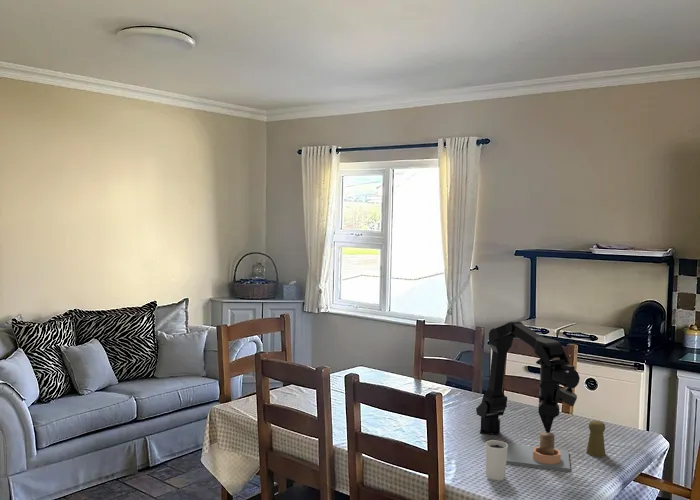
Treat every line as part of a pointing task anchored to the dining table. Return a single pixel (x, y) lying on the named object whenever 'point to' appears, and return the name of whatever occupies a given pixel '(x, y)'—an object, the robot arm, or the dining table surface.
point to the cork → (596, 439)
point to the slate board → (525, 458)
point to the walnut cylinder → (546, 443)
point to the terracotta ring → (546, 456)
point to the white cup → (496, 459)
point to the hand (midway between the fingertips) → (547, 427)
